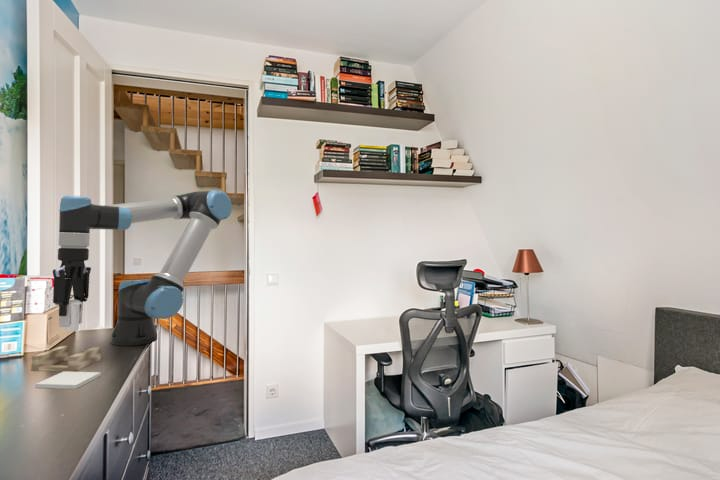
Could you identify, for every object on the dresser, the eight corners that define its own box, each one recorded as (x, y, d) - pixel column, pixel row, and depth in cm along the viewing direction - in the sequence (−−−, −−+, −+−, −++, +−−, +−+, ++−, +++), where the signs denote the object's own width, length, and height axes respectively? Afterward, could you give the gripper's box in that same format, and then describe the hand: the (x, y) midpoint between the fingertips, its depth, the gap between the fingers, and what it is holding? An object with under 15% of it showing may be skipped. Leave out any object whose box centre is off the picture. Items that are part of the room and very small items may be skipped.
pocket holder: (61, 358, 124) (62, 345, 124) (100, 359, 125) (101, 346, 125) (31, 370, 112) (31, 356, 112) (74, 371, 113) (75, 357, 113)
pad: (63, 375, 110) (63, 371, 110) (100, 376, 110) (100, 372, 110) (35, 387, 100) (35, 384, 100) (75, 389, 100) (76, 385, 100)
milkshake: (57, 330, 118) (58, 297, 118) (79, 327, 122) (79, 295, 122) (60, 333, 115) (61, 299, 115) (82, 330, 119) (83, 297, 119)
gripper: (80, 246, 128) (77, 319, 127) (38, 247, 110) (34, 331, 110) (104, 247, 128) (101, 319, 128) (66, 248, 110) (62, 331, 110)
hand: (70, 324), depth 119 cm, fingers closed on milkshake, 4 cm apart
